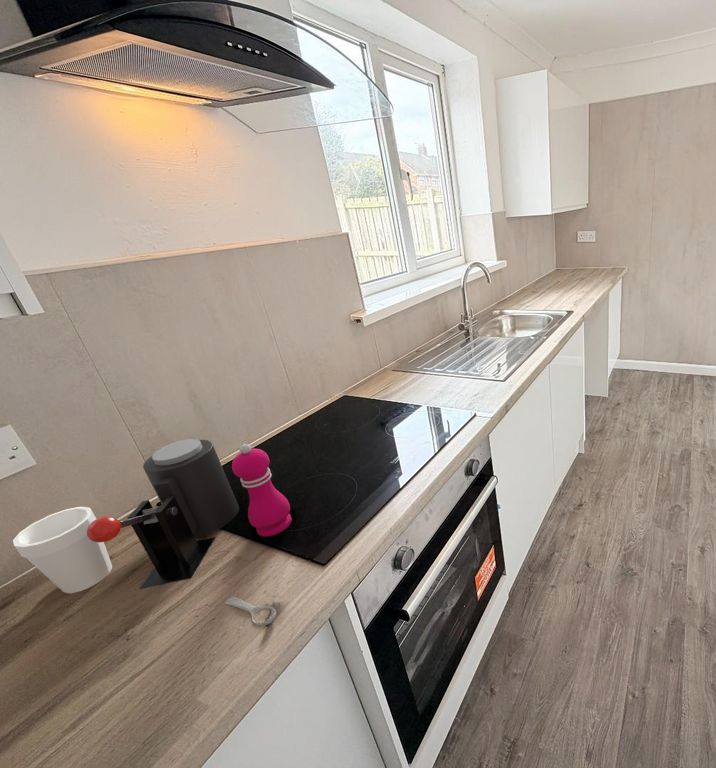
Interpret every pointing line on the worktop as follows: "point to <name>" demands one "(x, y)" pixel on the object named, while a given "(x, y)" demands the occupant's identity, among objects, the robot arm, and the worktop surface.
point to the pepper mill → (261, 492)
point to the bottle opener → (252, 609)
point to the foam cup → (65, 549)
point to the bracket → (169, 543)
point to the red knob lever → (117, 525)
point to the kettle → (193, 484)
